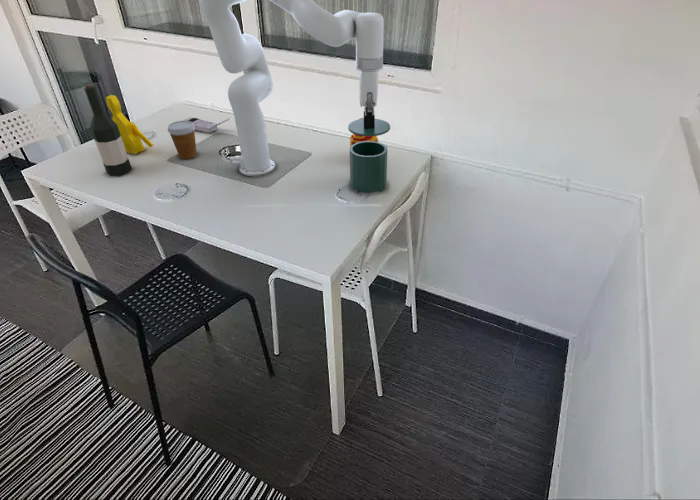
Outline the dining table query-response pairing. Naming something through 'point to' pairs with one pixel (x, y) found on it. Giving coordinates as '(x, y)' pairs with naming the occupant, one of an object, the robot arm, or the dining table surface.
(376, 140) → the potion bottle
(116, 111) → the figure statuette
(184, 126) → the disposable coffee cup
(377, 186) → the green tube
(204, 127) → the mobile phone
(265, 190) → the dining table surface
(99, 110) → the wine bottle
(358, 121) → the green disc with handle
